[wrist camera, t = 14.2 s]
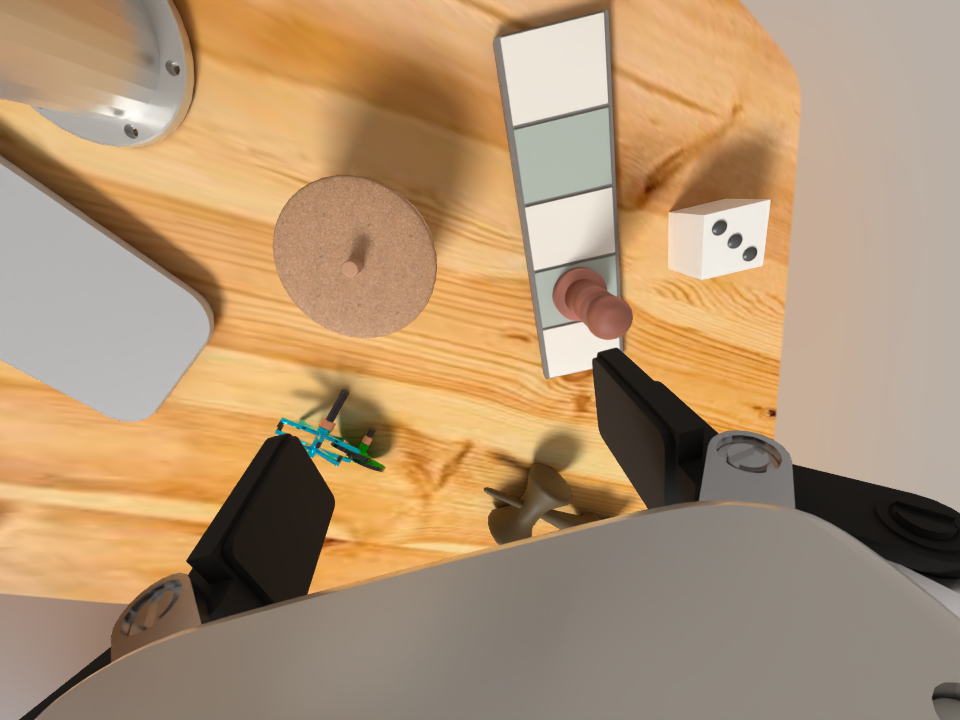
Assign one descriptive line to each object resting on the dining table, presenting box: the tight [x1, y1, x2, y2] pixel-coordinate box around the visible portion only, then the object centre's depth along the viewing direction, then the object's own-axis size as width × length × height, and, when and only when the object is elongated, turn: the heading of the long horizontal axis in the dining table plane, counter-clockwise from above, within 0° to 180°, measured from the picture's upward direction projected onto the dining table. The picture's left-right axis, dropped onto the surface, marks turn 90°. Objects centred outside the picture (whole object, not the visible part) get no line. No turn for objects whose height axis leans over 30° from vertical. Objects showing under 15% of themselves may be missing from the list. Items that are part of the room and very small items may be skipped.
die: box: [668, 199, 771, 280], centre depth 30 cm, size 5×5×5 cm
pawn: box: [552, 267, 633, 340], centre depth 29 cm, size 5×5×9 cm
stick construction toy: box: [275, 390, 385, 472], centre depth 37 cm, size 12×7×8 cm
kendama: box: [484, 463, 600, 545], centre depth 43 cm, size 6×10×20 cm
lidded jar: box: [273, 175, 437, 338], centre depth 27 cm, size 11×11×9 cm
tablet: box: [0, 155, 214, 421], centre depth 29 cm, size 16×26×2 cm, turn 46°
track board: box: [493, 10, 623, 379], centre depth 31 cm, size 28×8×1 cm, turn 12°
